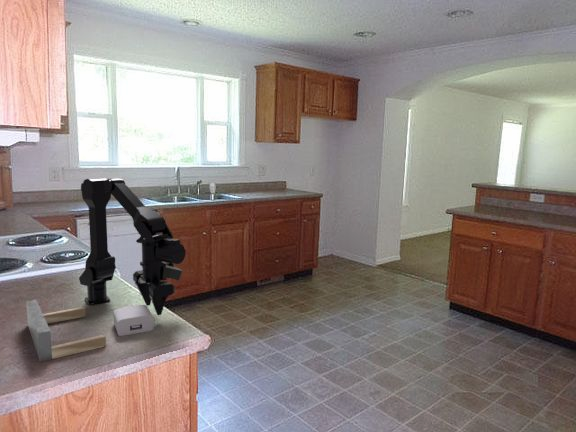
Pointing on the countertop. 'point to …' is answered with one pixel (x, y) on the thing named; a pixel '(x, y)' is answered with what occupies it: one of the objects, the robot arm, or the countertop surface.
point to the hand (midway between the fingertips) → (153, 310)
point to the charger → (133, 320)
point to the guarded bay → (43, 336)
